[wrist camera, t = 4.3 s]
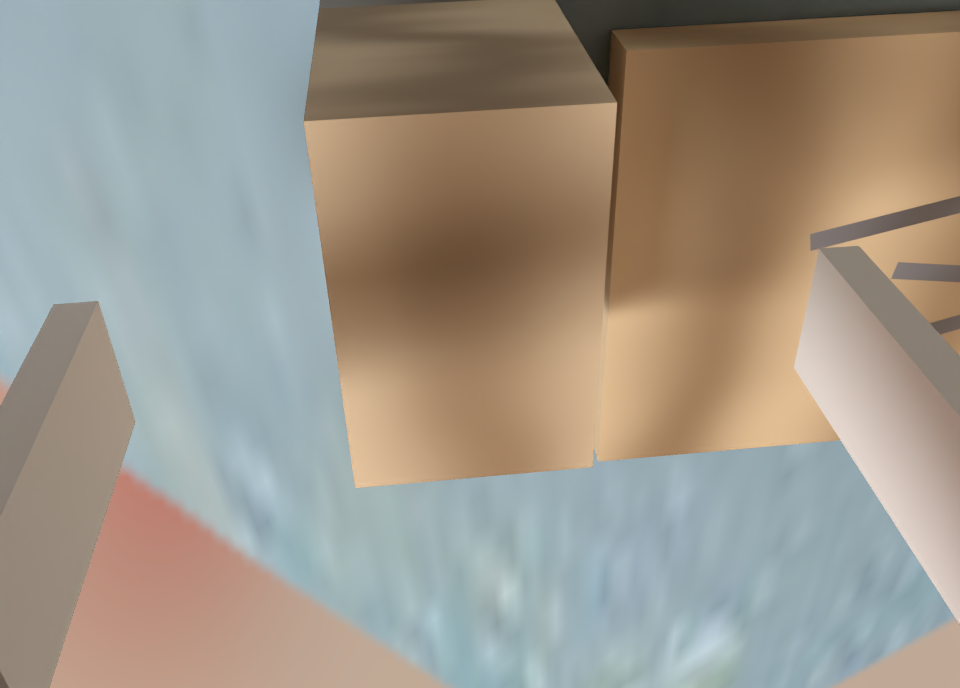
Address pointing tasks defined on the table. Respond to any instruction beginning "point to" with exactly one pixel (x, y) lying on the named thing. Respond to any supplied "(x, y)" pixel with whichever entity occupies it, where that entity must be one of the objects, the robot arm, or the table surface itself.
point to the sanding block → (461, 233)
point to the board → (765, 213)
